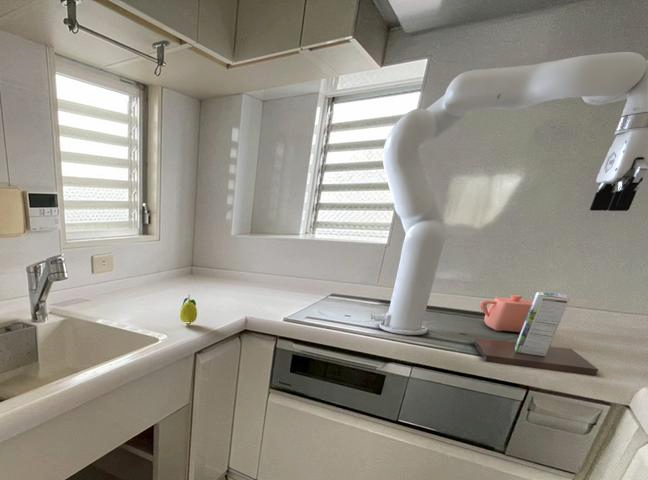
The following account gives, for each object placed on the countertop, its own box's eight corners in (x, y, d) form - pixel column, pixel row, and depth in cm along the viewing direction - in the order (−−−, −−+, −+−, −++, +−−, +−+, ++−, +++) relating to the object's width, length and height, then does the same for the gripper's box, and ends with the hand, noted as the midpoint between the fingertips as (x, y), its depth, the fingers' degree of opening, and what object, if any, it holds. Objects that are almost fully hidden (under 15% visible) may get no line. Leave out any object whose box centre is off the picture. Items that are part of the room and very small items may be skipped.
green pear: (181, 328, 127) (182, 297, 123) (175, 323, 132) (176, 293, 128) (201, 326, 129) (202, 295, 125) (194, 322, 134) (195, 292, 130)
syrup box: (514, 346, 104) (534, 290, 99) (545, 351, 101) (568, 293, 95) (514, 352, 100) (536, 294, 95) (546, 357, 97) (571, 297, 91)
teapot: (468, 321, 133) (478, 290, 129) (537, 327, 126) (550, 294, 122) (478, 330, 123) (489, 296, 119) (554, 337, 116) (568, 302, 112)
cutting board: (484, 360, 99) (486, 355, 99) (473, 343, 112) (474, 337, 112) (595, 375, 90) (598, 369, 90) (569, 354, 103) (571, 348, 103)
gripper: (601, 132, 95) (571, 210, 102) (638, 119, 81) (601, 211, 88) (646, 129, 92) (613, 210, 98) (693, 115, 78) (651, 211, 84)
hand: (607, 210), depth 93 cm, fingers open, 9 cm apart
